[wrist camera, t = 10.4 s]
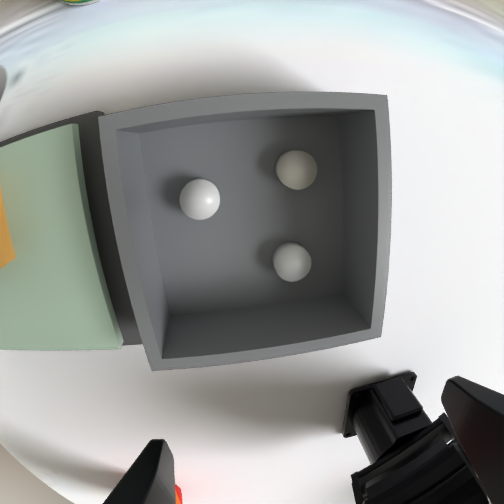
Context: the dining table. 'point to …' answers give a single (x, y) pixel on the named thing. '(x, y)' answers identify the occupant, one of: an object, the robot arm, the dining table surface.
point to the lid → (50, 250)
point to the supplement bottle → (80, 2)
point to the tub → (251, 223)
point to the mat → (99, 218)
